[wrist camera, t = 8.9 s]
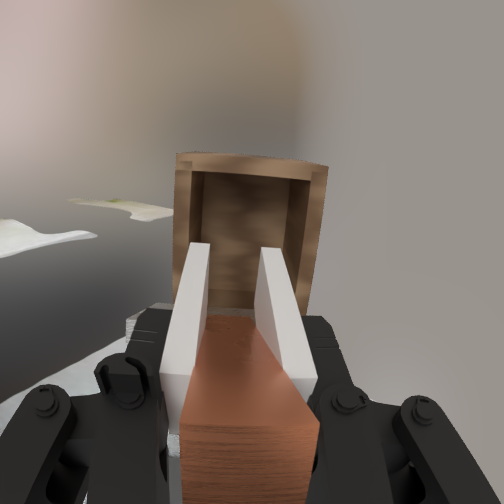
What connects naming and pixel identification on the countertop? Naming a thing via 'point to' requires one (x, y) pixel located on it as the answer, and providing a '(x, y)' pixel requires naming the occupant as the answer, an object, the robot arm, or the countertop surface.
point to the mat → (175, 481)
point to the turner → (242, 419)
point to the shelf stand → (247, 220)
